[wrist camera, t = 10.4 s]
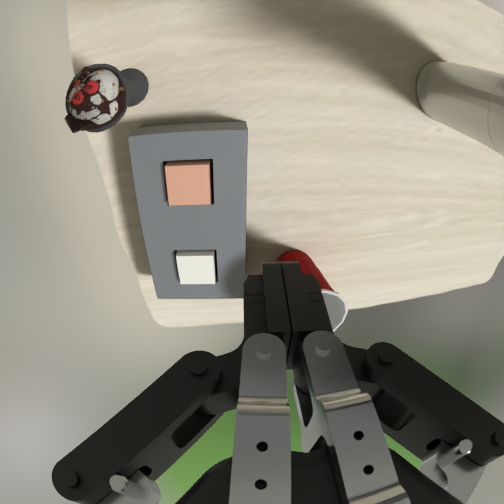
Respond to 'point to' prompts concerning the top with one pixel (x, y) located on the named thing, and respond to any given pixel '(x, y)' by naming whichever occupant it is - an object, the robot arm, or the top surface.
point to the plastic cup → (331, 298)
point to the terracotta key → (189, 182)
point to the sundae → (102, 96)
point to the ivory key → (196, 266)
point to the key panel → (193, 216)
